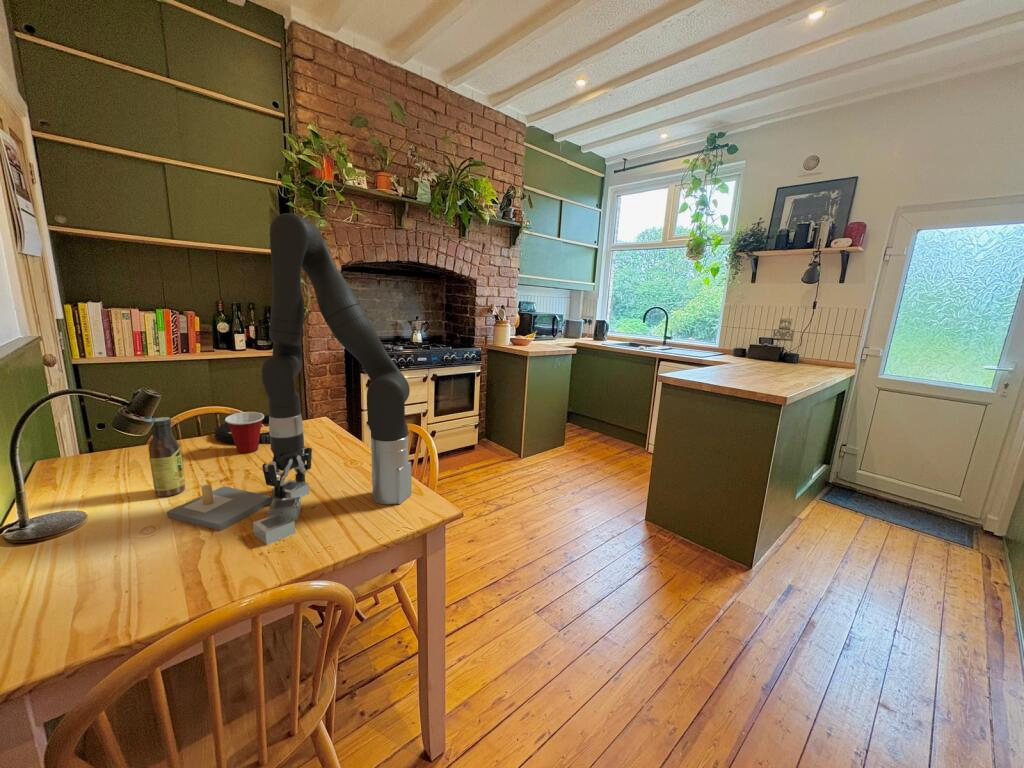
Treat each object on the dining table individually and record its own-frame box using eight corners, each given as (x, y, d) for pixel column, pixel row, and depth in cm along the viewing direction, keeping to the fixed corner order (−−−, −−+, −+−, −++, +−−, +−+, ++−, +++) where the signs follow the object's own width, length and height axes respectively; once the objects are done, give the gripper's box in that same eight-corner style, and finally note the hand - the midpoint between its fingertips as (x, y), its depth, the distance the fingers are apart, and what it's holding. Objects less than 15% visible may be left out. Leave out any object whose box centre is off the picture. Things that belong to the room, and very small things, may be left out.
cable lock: (280, 409, 172) (316, 425, 154) (280, 418, 173) (317, 434, 155) (201, 423, 150) (233, 443, 133) (202, 433, 151) (234, 454, 133)
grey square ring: (309, 493, 109) (308, 482, 109) (291, 503, 104) (290, 492, 103) (291, 489, 111) (290, 479, 110) (272, 499, 105) (271, 488, 105)
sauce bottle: (188, 492, 107) (179, 419, 103) (157, 500, 102) (146, 424, 98) (183, 484, 111) (174, 414, 107) (153, 491, 107) (142, 418, 103)
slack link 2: (282, 523, 95) (281, 511, 94) (295, 533, 91) (294, 520, 91) (254, 534, 90) (253, 522, 89) (266, 545, 86) (265, 532, 86)
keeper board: (272, 501, 104) (270, 480, 103) (220, 530, 91) (217, 505, 90) (224, 491, 108) (222, 470, 107) (167, 517, 95) (164, 493, 94)
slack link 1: (301, 507, 102) (300, 496, 101) (297, 520, 96) (296, 508, 96) (274, 510, 100) (273, 499, 99) (268, 523, 94) (267, 511, 94)
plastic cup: (231, 459, 128) (227, 423, 126) (225, 449, 136) (222, 414, 134) (270, 452, 136) (267, 417, 133) (263, 442, 143) (260, 410, 141)
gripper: (275, 442, 96) (280, 508, 99) (319, 425, 109) (322, 483, 113) (249, 438, 98) (255, 502, 101) (296, 422, 111) (300, 479, 115)
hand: (290, 492), depth 107 cm, fingers closed on grey square ring, 6 cm apart
